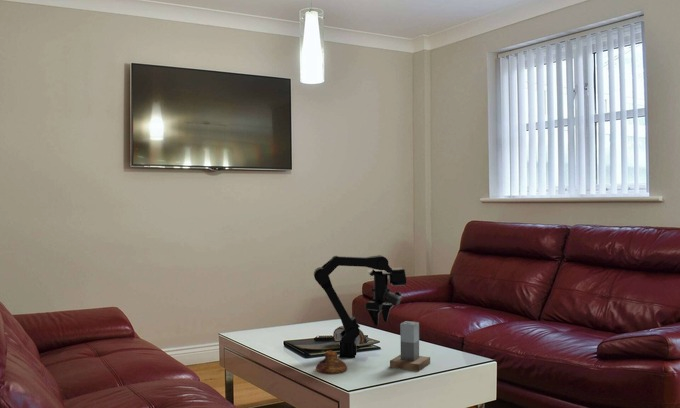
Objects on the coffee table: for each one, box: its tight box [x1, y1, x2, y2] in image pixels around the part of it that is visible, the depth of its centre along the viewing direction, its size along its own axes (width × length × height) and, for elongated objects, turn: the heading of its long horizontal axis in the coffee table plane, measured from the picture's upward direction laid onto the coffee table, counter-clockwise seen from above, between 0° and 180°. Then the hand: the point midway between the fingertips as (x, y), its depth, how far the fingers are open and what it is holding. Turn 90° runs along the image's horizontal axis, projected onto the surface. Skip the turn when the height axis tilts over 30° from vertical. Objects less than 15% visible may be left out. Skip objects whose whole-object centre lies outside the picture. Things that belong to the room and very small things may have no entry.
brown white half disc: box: [333, 325, 366, 345], centre depth 275 cm, size 15×3×8 cm, turn 58°
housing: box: [399, 320, 420, 361], centre depth 242 cm, size 6×6×14 cm
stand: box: [389, 354, 431, 372], centre depth 242 cm, size 12×12×2 cm
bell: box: [315, 350, 348, 375], centre depth 237 cm, size 12×12×7 cm
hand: (381, 323), depth 259 cm, fingers open, 9 cm apart
